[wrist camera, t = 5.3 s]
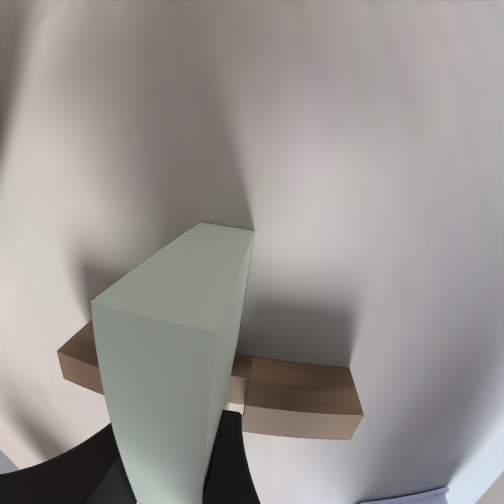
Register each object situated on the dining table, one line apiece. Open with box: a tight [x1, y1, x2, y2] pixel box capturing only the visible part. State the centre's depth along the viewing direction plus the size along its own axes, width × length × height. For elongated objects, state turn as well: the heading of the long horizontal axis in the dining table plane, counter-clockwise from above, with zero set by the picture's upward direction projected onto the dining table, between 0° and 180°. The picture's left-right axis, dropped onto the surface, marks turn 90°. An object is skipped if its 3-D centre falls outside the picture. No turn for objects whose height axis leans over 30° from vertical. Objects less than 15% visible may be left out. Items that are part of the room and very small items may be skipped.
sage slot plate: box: [91, 222, 254, 504], centre depth 9 cm, size 12×2×7 cm, turn 172°
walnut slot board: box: [57, 320, 364, 440], centre depth 11 cm, size 12×2×3 cm, turn 82°
